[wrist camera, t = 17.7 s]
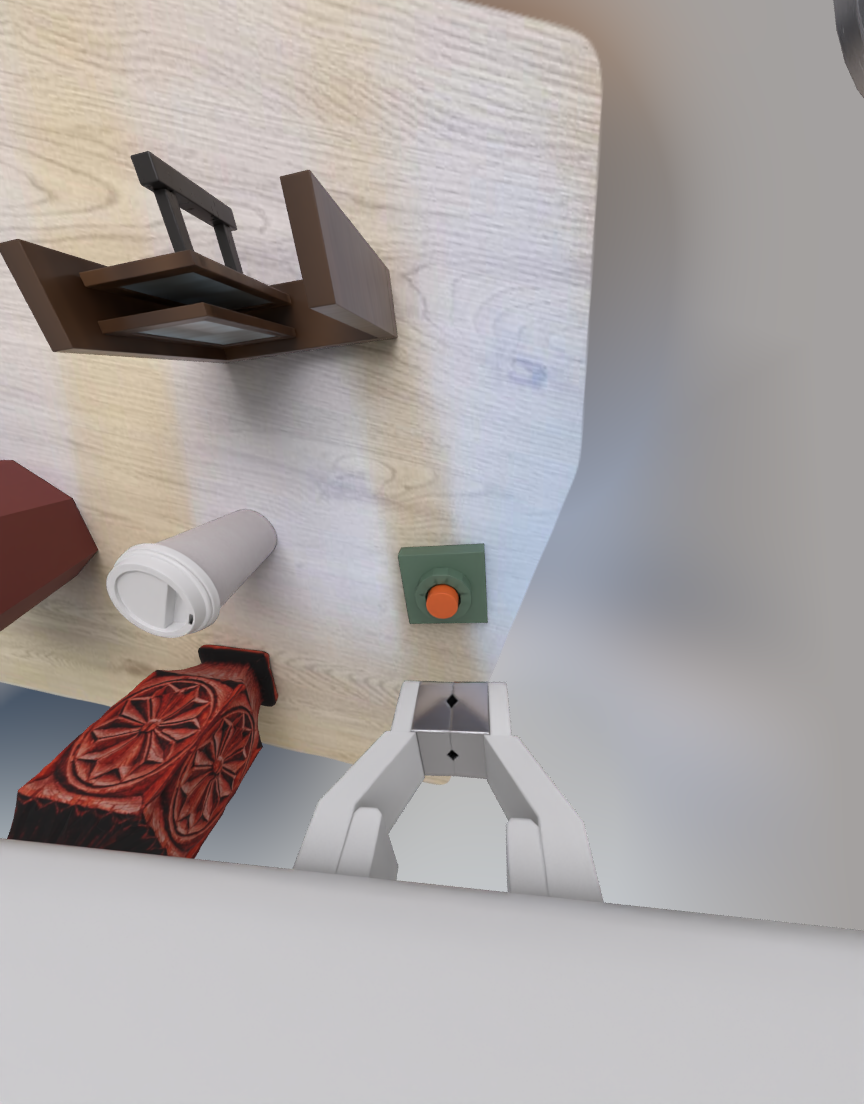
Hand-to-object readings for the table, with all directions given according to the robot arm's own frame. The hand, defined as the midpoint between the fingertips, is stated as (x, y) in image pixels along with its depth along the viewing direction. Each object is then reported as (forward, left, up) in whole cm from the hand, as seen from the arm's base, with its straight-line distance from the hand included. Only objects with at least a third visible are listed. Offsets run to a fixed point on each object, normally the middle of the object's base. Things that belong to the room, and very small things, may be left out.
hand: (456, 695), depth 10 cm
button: (+4, +14, -26) cm, 29 cm away
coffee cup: (+28, +6, -29) cm, 41 cm away
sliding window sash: (+18, -19, -27) cm, 38 cm away
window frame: (+15, -15, -29) cm, 36 cm away
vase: (+39, +30, -29) cm, 57 cm away
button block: (+4, +14, -29) cm, 33 cm away
